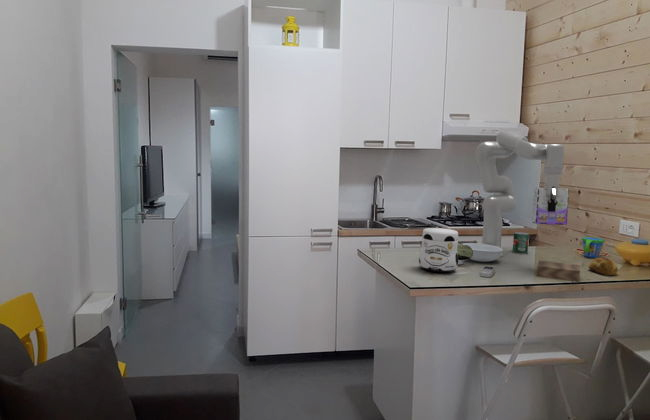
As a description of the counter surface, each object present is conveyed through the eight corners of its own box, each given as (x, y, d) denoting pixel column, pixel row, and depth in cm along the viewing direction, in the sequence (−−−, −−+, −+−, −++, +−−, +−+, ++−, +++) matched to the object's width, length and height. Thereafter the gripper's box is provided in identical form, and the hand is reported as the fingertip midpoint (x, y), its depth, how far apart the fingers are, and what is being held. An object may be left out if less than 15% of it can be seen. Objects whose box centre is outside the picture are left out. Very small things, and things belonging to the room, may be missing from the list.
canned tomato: (509, 251, 283) (510, 231, 281) (521, 251, 285) (522, 231, 284) (518, 254, 275) (520, 234, 274) (530, 254, 277) (532, 234, 276)
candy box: (562, 223, 237) (565, 188, 235) (566, 225, 231) (569, 189, 229) (531, 222, 238) (534, 187, 237) (535, 223, 232) (538, 187, 231)
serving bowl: (493, 267, 241) (494, 252, 241) (451, 259, 254) (452, 246, 253) (507, 260, 258) (508, 247, 257) (467, 254, 270) (468, 241, 270)
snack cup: (588, 254, 285) (590, 236, 284) (608, 257, 277) (610, 239, 276) (574, 256, 276) (576, 237, 275) (593, 260, 268) (595, 241, 266)
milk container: (429, 275, 219) (432, 234, 217) (411, 266, 236) (414, 227, 234) (465, 274, 224) (468, 233, 222) (445, 265, 241) (448, 227, 238)
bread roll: (583, 270, 243) (584, 253, 242) (598, 269, 246) (600, 253, 245) (605, 276, 231) (607, 259, 230) (622, 276, 234) (624, 258, 233)
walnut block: (536, 276, 227) (537, 265, 226) (537, 270, 239) (538, 260, 239) (578, 282, 219) (579, 271, 219) (578, 275, 232) (579, 265, 231)
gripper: (541, 171, 241) (538, 208, 243) (547, 171, 225) (544, 212, 226) (558, 171, 239) (555, 209, 241) (565, 172, 223) (562, 213, 225)
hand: (550, 210), depth 234 cm, fingers closed on candy box, 6 cm apart
